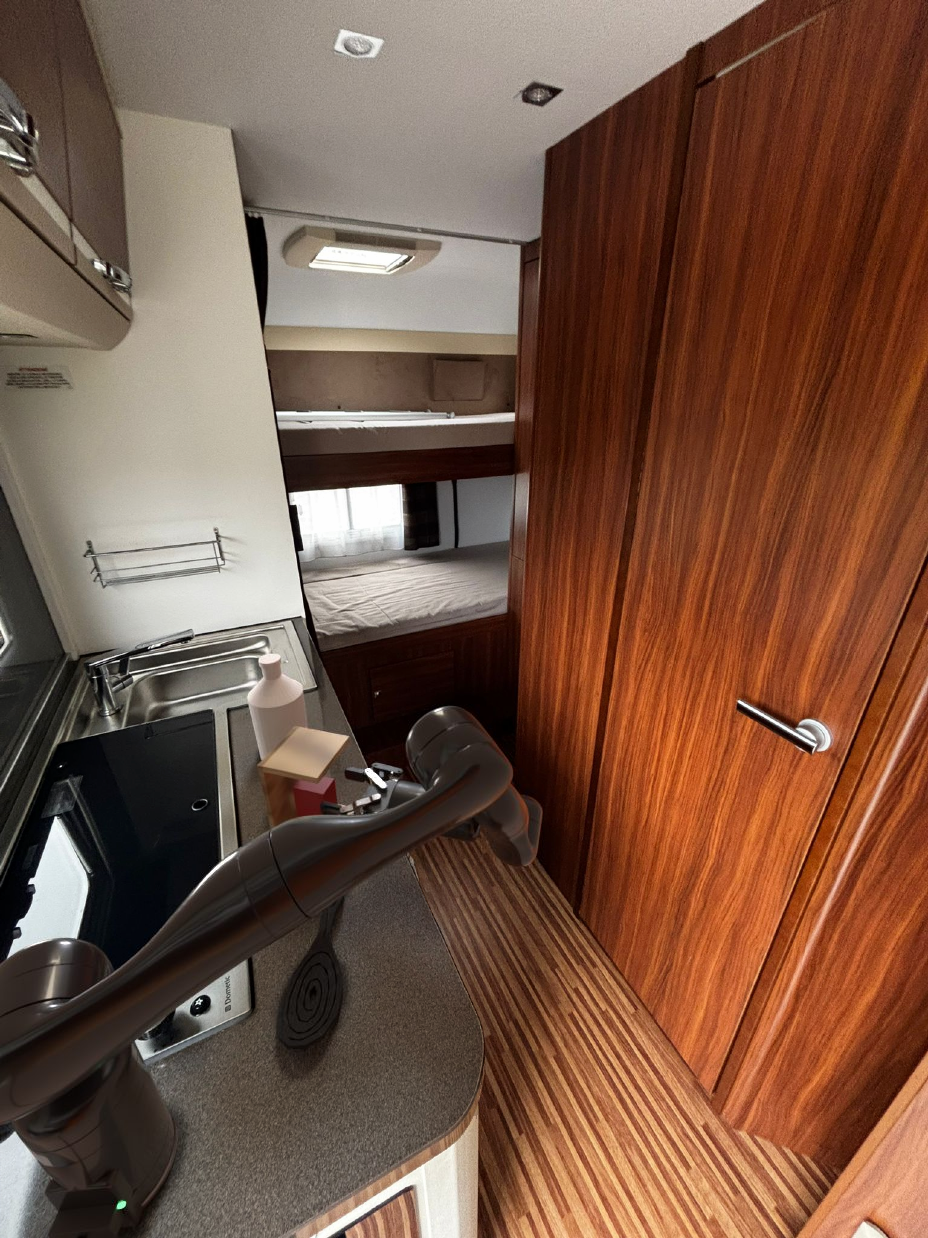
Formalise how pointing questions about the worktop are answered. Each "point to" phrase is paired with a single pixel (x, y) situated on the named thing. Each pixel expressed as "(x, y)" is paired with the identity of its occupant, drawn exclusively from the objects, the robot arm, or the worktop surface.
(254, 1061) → the worktop surface
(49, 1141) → the robot arm
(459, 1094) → the worktop surface
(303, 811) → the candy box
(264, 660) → the bottle
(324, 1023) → the hairbrush
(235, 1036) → the worktop surface
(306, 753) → the shelf unit
